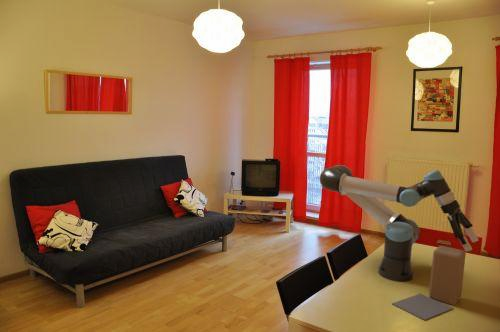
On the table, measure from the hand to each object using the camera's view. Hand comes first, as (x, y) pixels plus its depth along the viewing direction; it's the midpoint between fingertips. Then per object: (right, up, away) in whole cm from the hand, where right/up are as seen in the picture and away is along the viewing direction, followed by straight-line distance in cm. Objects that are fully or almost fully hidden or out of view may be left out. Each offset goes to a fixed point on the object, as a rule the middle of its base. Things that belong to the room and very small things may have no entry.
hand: (472, 246), depth 178 cm
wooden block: (-20, -18, -16) cm, 32 cm away
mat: (-33, -18, -25) cm, 45 cm away
